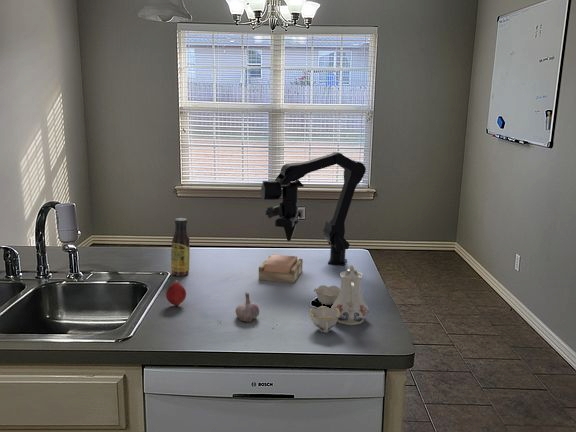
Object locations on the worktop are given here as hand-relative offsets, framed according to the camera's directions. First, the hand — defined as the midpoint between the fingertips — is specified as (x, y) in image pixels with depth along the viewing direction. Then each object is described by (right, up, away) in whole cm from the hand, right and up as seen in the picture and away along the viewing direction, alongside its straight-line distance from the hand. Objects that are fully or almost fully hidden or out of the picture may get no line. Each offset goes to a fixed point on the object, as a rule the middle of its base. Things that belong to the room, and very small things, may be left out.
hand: (288, 240), depth 205 cm
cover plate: (-3, -9, -9) cm, 13 cm away
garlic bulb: (-12, -20, -46) cm, 52 cm away
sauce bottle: (-38, -11, -9) cm, 41 cm away
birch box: (-3, -12, -8) cm, 15 cm away
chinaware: (+14, -21, -45) cm, 51 cm away
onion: (-34, -18, -38) cm, 54 cm away
